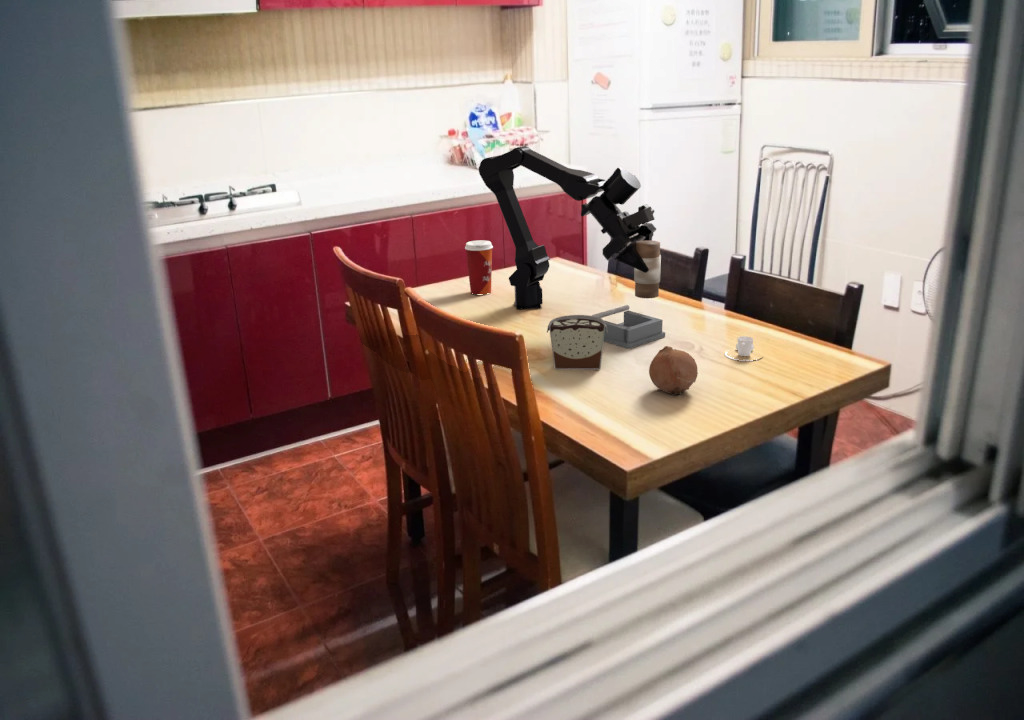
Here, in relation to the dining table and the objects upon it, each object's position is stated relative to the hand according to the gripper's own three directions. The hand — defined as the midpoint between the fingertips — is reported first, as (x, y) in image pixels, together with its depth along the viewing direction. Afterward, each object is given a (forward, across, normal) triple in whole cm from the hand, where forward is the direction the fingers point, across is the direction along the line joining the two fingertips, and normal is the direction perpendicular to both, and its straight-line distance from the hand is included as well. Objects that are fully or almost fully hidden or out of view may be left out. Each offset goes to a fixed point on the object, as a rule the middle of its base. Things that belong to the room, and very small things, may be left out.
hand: (652, 268), depth 193 cm
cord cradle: (+8, -11, +11) cm, 18 cm away
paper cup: (-28, +6, +47) cm, 55 cm away
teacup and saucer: (+30, -9, -10) cm, 33 cm away
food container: (+8, -32, +12) cm, 35 cm away
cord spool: (+4, 0, +6) cm, 7 cm away
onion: (+24, -37, -5) cm, 45 cm away
